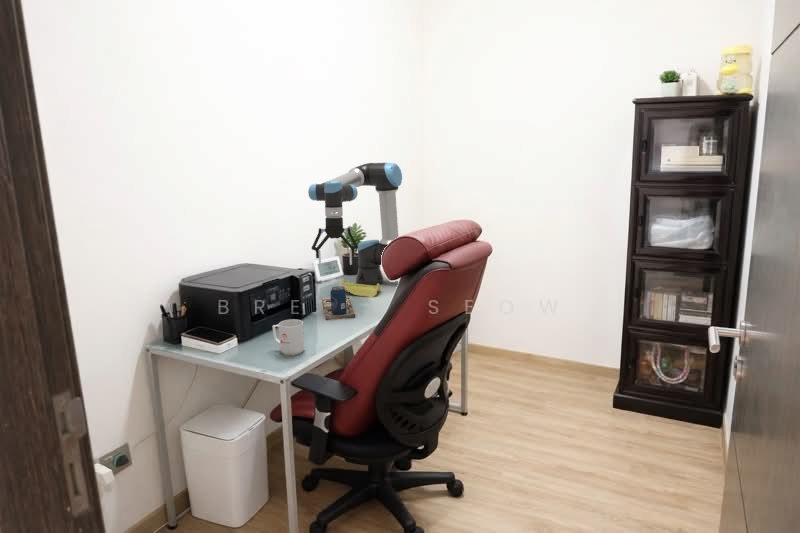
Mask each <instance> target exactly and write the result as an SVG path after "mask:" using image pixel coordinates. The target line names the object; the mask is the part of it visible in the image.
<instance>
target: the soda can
mask: <svg viewBox="0 0 800 533" xmlns="http://www.w3.org/2000/svg"><path fill="white" fill-rule="evenodd" d="M346 298H347V292H346V289H345V288H344V286H333V287H331V290H330V299H331V302H330V306H331V311H330V312H331V314H332V316H333V315H344V314H345V315H346V314H347V312H348V310H347V302H346Z"/></svg>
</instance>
